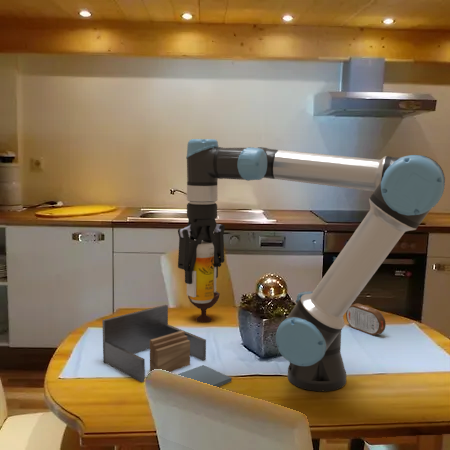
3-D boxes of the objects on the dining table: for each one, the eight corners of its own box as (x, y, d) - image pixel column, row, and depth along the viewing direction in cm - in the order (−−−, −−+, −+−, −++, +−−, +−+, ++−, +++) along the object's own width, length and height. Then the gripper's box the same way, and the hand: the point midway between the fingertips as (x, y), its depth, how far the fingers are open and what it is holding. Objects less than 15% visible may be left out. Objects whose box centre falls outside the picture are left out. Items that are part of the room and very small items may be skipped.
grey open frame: (205, 359, 153) (206, 319, 151) (141, 382, 138) (141, 337, 136) (165, 342, 166) (165, 304, 165) (103, 361, 151) (102, 320, 150)
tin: (385, 337, 173) (387, 311, 172) (379, 339, 172) (380, 313, 170) (350, 324, 186) (351, 300, 184) (343, 325, 184) (345, 301, 183)
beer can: (210, 304, 133) (211, 244, 131) (186, 303, 134) (186, 243, 132) (215, 298, 139) (216, 240, 137) (193, 296, 140) (193, 239, 138)
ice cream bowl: (187, 315, 193) (187, 274, 191) (218, 314, 194) (218, 274, 192) (188, 325, 182) (188, 282, 180) (221, 324, 184) (221, 281, 181)
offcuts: (190, 364, 150) (190, 333, 148) (158, 376, 142) (157, 343, 141) (181, 361, 152) (181, 330, 151) (149, 372, 145) (149, 339, 143)
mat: (231, 381, 139) (231, 377, 139) (199, 394, 132) (199, 390, 132) (203, 368, 147) (203, 364, 147) (171, 380, 140) (171, 376, 140)
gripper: (219, 198, 142) (219, 284, 145) (161, 203, 129) (162, 297, 132) (240, 201, 137) (238, 289, 140) (181, 206, 124) (181, 304, 127)
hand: (201, 293), depth 136 cm, fingers closed on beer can, 6 cm apart
